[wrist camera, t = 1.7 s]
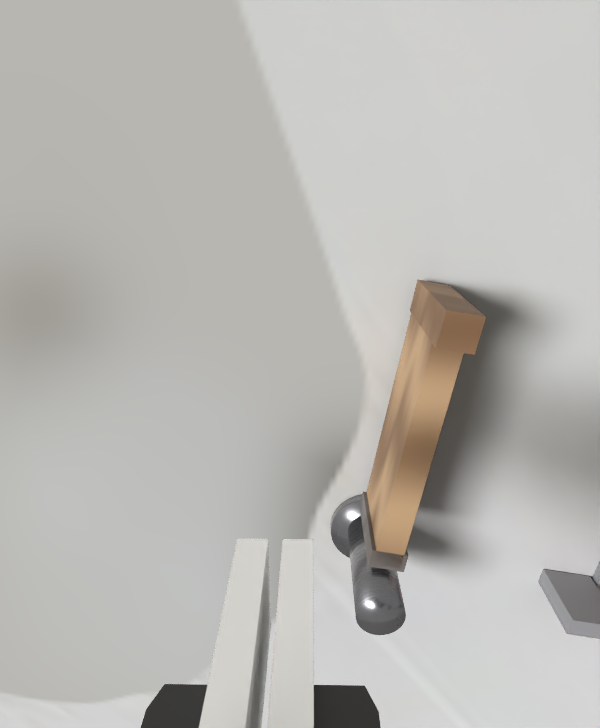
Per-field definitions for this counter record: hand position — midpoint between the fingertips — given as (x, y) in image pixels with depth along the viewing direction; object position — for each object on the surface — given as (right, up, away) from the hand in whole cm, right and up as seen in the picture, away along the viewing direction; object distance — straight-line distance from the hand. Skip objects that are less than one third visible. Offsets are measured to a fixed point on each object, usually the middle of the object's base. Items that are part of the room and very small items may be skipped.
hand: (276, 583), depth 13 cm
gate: (+6, +3, +15) cm, 17 cm away
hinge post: (+5, -4, +19) cm, 20 cm away
